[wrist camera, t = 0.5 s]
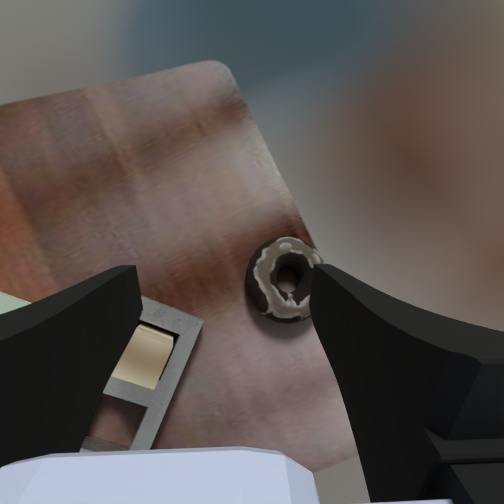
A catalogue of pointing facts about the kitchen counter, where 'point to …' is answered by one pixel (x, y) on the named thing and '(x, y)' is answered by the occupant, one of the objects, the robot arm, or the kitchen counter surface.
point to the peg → (144, 356)
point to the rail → (166, 384)
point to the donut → (266, 287)
